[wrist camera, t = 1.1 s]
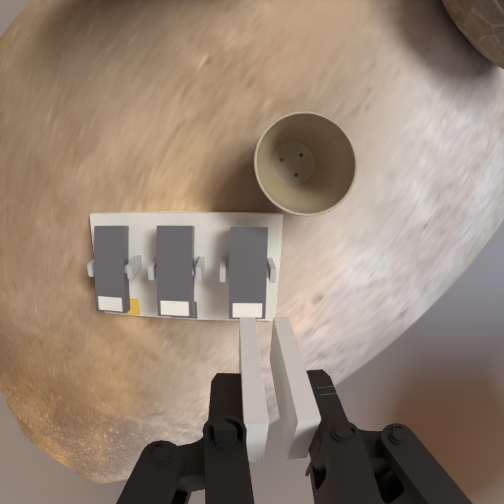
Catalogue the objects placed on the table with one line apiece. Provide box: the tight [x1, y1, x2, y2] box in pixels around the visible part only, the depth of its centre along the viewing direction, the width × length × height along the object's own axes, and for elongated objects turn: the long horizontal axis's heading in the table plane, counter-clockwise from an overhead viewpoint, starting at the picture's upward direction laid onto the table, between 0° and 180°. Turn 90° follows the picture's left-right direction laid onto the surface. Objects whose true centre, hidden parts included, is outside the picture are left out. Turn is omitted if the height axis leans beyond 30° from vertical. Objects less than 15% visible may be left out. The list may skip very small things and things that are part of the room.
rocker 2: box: [155, 226, 195, 318], centre depth 30 cm, size 10×4×2 cm, turn 178°
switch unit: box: [87, 211, 283, 321], centre depth 32 cm, size 14×24×5 cm, turn 88°
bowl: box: [442, 0, 504, 69], centre depth 15 cm, size 24×24×15 cm
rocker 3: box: [227, 226, 268, 319], centre depth 30 cm, size 10×4×2 cm, turn 178°
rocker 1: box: [94, 226, 130, 313], centre depth 29 cm, size 10×4×2 cm, turn 178°
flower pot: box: [254, 111, 357, 216], centre depth 27 cm, size 10×10×7 cm
